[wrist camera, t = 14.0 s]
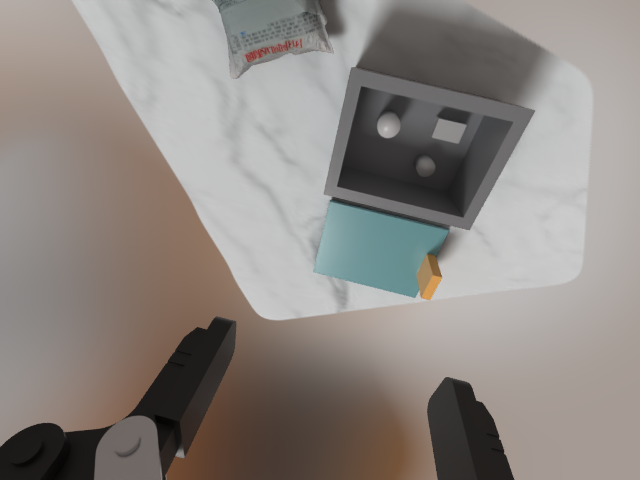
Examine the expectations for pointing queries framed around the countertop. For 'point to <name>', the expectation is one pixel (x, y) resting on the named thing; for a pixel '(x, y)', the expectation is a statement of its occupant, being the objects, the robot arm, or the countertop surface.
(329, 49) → the packaged food
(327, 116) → the countertop surface
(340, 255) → the lid
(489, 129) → the tub
